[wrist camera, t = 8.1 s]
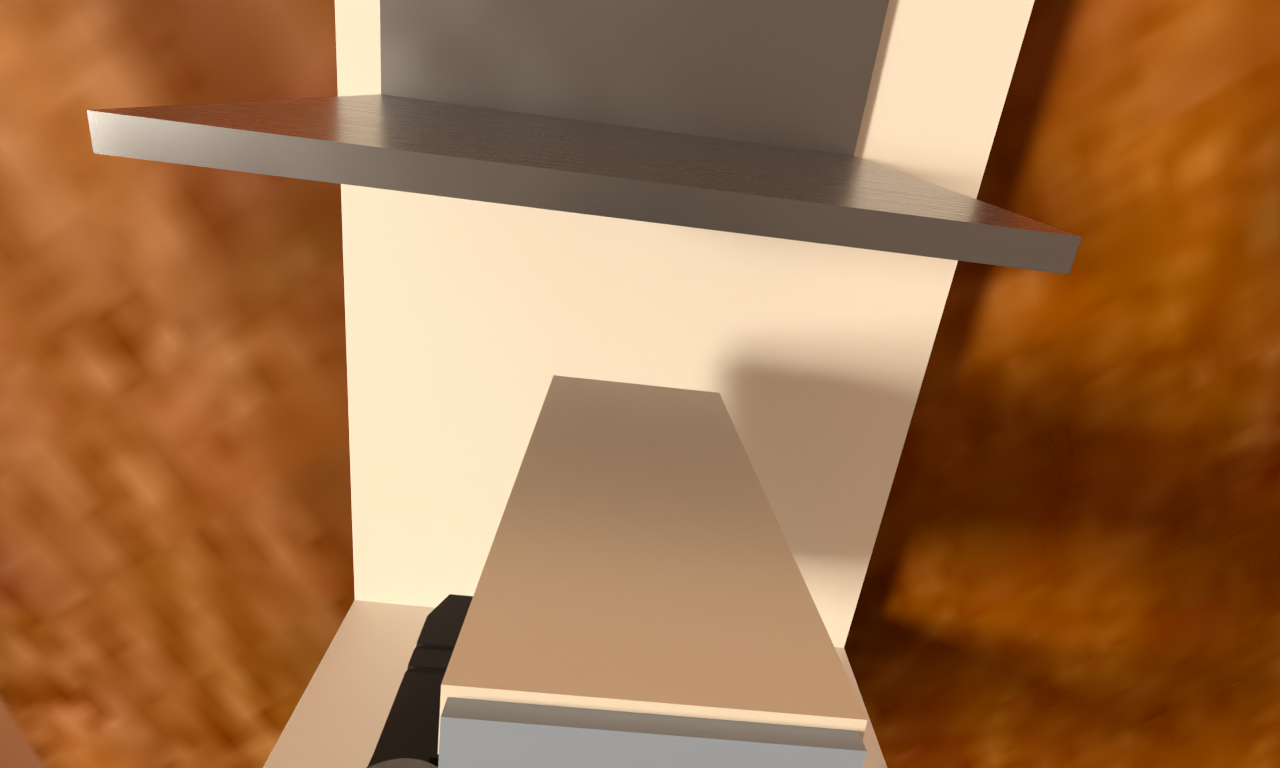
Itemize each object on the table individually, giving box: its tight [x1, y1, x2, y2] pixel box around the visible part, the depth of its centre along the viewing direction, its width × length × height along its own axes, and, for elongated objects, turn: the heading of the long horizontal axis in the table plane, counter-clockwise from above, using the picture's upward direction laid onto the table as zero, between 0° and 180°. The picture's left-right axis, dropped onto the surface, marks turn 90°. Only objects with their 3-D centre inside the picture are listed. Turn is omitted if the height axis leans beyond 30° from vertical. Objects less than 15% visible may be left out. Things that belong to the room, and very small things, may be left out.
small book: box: [438, 375, 867, 768], centre depth 10 cm, size 3×6×9 cm, turn 173°
